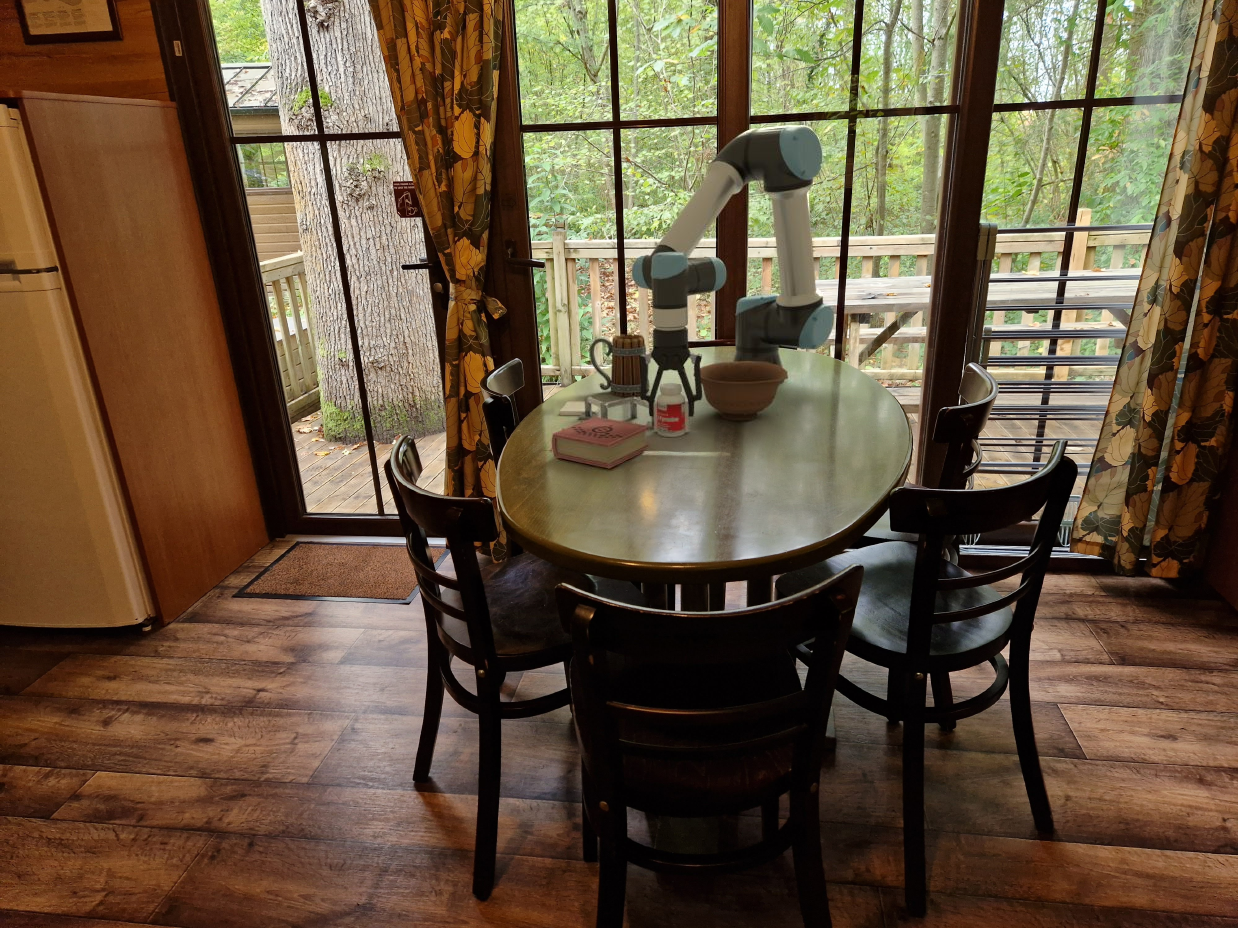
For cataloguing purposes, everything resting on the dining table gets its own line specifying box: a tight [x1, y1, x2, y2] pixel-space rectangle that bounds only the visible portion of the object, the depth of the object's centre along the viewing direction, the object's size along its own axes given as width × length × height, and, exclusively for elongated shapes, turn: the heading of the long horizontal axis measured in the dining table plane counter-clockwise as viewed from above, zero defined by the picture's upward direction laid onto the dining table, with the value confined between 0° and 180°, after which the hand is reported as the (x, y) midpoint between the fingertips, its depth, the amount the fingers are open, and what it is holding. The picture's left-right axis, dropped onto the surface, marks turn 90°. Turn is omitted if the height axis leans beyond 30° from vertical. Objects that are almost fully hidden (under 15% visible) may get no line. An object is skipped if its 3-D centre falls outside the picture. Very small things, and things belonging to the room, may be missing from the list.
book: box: [551, 416, 650, 469], centre depth 165 cm, size 14×15×5 cm
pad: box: [559, 401, 601, 416], centre depth 196 cm, size 9×9×1 cm
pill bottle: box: [656, 382, 686, 438], centre depth 173 cm, size 6×6×11 cm
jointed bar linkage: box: [578, 395, 654, 430], centre depth 184 cm, size 21×11×5 cm, turn 81°
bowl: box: [693, 361, 789, 422], centre depth 185 cm, size 22×22×11 cm
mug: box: [589, 333, 651, 398], centre depth 209 cm, size 16×11×15 cm
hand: (671, 430), depth 176 cm, fingers closed on pill bottle, 6 cm apart
